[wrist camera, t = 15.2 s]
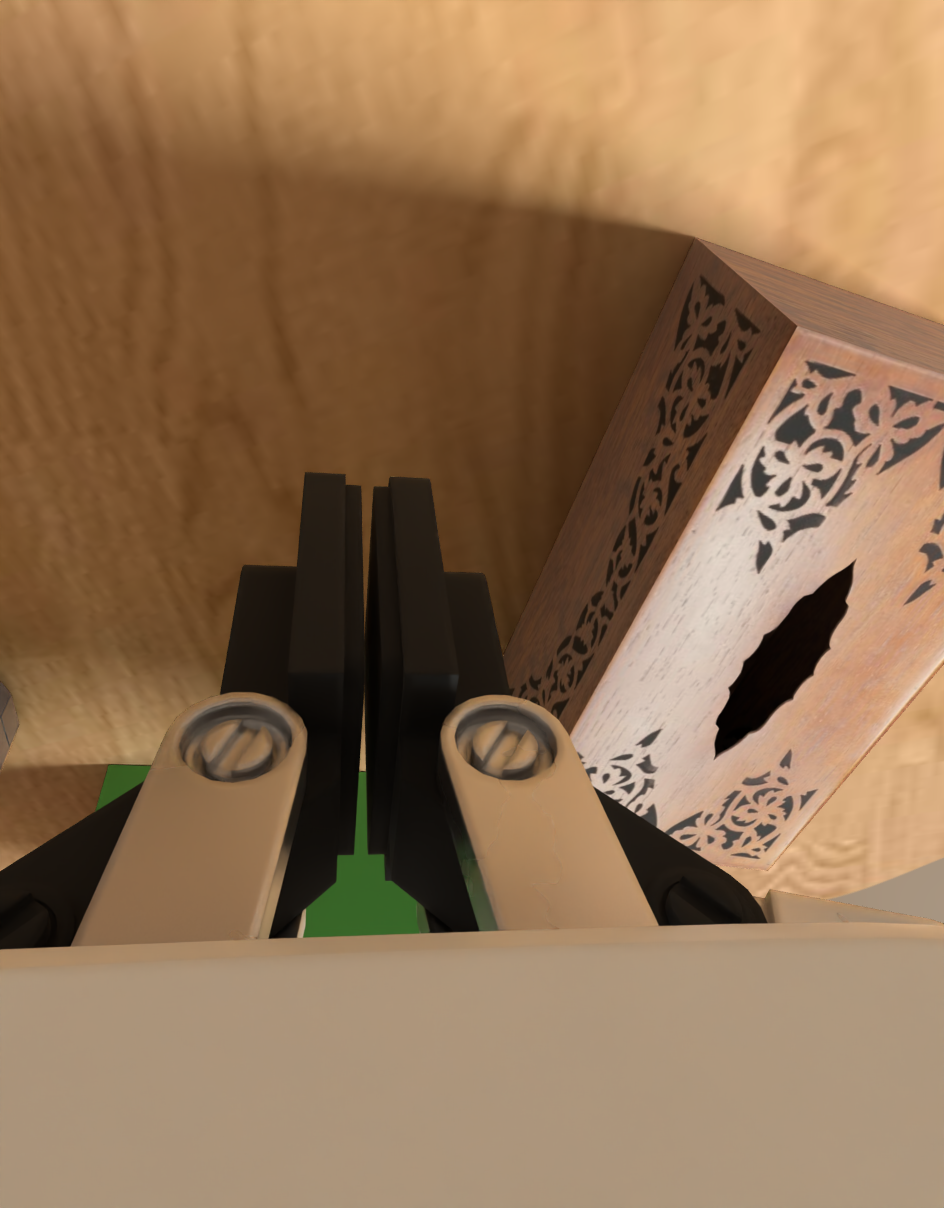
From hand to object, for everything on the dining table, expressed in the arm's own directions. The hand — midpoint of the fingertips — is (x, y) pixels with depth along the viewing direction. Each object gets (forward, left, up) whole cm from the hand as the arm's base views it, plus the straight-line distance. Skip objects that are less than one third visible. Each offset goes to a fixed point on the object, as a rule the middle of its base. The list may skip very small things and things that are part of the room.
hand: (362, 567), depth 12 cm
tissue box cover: (+15, +18, -25) cm, 34 cm away
